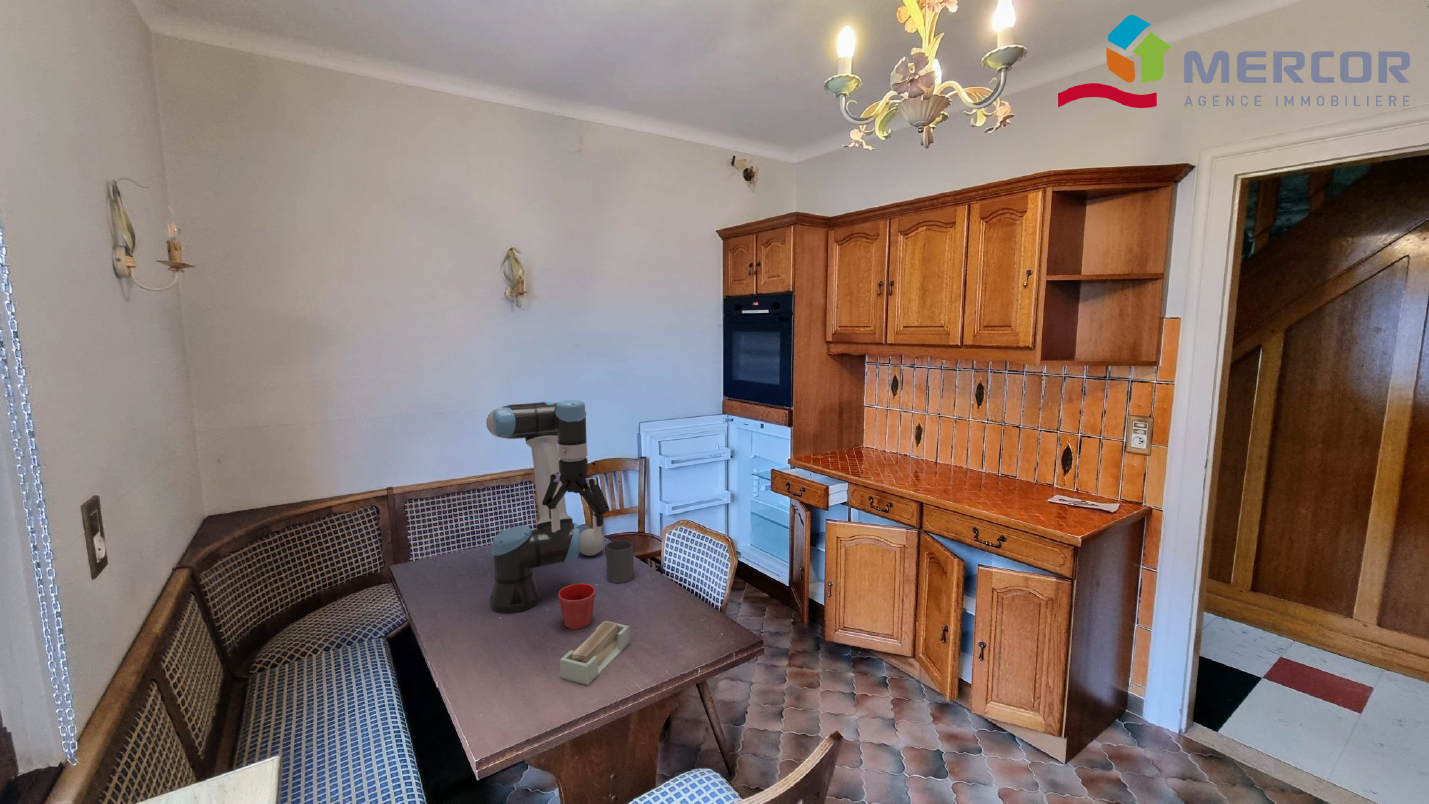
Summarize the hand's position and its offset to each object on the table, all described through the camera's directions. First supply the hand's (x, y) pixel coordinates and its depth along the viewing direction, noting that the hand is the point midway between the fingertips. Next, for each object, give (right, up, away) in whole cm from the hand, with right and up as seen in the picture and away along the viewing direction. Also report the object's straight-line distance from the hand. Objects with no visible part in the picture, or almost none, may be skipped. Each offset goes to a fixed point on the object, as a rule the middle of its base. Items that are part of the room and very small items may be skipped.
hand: (576, 534), depth 157 cm
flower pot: (-3, -29, +13) cm, 32 cm away
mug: (+4, -25, +44) cm, 50 cm away
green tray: (+7, -32, -6) cm, 33 cm away
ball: (-9, -22, +62) cm, 66 cm away
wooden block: (+7, -32, -6) cm, 33 cm away
